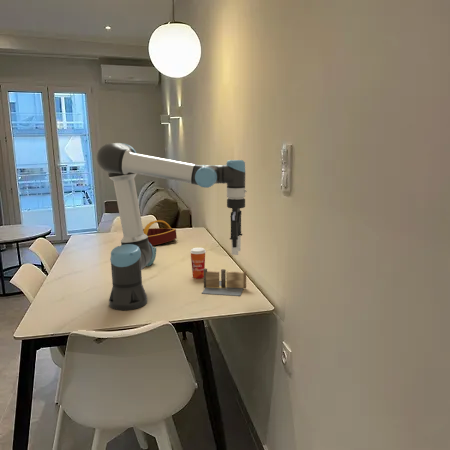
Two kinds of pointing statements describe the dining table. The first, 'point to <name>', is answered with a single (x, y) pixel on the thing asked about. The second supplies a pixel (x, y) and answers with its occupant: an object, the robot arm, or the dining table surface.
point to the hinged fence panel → (236, 279)
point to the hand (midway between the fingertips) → (236, 252)
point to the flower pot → (153, 256)
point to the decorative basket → (159, 233)
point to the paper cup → (198, 262)
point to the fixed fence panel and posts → (214, 278)
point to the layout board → (223, 290)
